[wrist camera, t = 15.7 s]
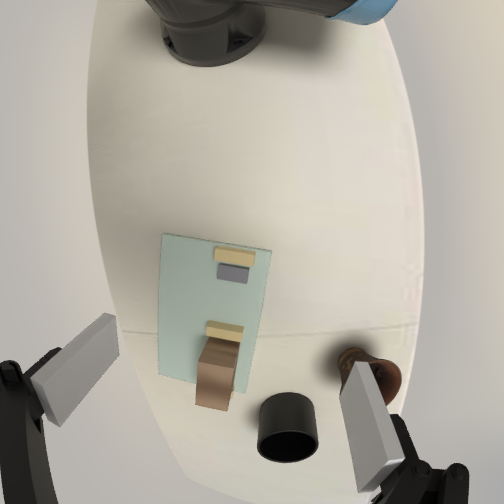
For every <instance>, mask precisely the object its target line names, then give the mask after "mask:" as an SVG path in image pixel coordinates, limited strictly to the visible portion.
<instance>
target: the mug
mask: <svg viewBox="0 0 504 504" xmlns="http://www.w3.org/2000/svg"><path fill="white" fill-rule="evenodd" d="M318 445H319V443H318V434H317V426H316V419H315V411H314V406H313V404H312V402H311V401H310V400H309V399H308V398H306V397H305V396H303V395H300V394H296V393H282V394H278V395H275V396H272V397H271V398H269V399H268V400H266V401H265V403H264V404H263V405H262V407H261V411H260V421H259V431H258V441H257V450H258V452H259V453H260V455H261V456H263V457H264V458H266V459H268V460H270V461H274V462H279V463H292V462H298V461H301V460H304V459H306V458H308V457H310V456H311V455H313V454H314V453H315V452H316V450H317V448H318Z"/></svg>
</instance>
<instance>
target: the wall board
mask: <svg viewBox="0 0 504 504" xmlns="http://www.w3.org/2000/svg"><path fill="white" fill-rule="evenodd" d="M271 253H272V251H271V250H265V249H259V248H253V247H247V246H241V245H234V244H228V243H222V242H216V241H210V240H204V239H198V238H191V237H185V236H179V235H173V234H167V233H164V234H162V243H161V257H160V275H159V299H158V367H159V374H160V375H164V376H167V377H171V378H175V379H179V380H182V381H186V382H191V383H195V384H196V383H197V367H198V360H199V358H200V356H201V353H202V351H203V349H204V347H205V345H206V342H207V340H208V338H209V336H211V337H216V338H221V339H226V340H231V341H237V342H240V348H239V354H238V360H237V367H236V373H235V379H234V384H233V388H232V393H231V397H230V398H232V396H233V392H239V393H245V394H246V390H247V385H248V379H249V374H250V369H251V364H252V359H253V353H254V348H255V343H256V337H257V332H258V327H259V321H260V316H261V310H262V305H263V299H264V293H265V288H266V282H267V276H268V270H269V265H270V259H271Z"/></svg>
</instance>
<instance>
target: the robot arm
mask: <svg viewBox="0 0 504 504" xmlns="http://www.w3.org/2000/svg"><path fill="white" fill-rule="evenodd" d="M146 1H147V3H148V4H149V5H150V6H151V7H152V9H153V10H154V11H155V12H156V13H157V14H158V16H159V17H160V20H161V30H162V38H163V41H164V43H165V45H166V47H167V48H168V49H169V51H170V52H171V53H172V54H173V55H174V56H175V57H176V58H177V59H179V60H180V61H182V62H184V63H186V64H190V65H193V66H201V67H210V66H218V65H223V64H227V63H230V62H233V61H235V60H237V59H239V58H241V57H243V56H245V55H246V54H248V53H249V52H250V51H252V50H253V49H254V48H255V47H256V46H257V45H258V44H259V42H260V41H261V39H262V38H263V36H264V33H265V30H266V15H265V11H264V8H263V6H271V7H278V8H285V9H291V10H296V11H302V12H307V13H311V14H316V15H320V16H324V18H326V19H331V20H333V19H338V20H342V21H346V22H350V23H354V24H358V25H369V24H372V23H375V22H377V21H379V20H381V19H382V18H383V17H384V16H385V15H386V14H387V13H388V12H389V11H390V10H391V8H393V6H394V5H395V4H396V2H397V1H398V0H146ZM262 5H263V6H262ZM118 356H119V347H118V337H117V326H116V316H114V315H111V314H107V313H104V314H102V315H101V316H100V317H99V318H98V319H96V321H94V322H93V323H92V324H91V325H89V326H88V327H87V328H86V329H85V330H83V332H81V333H80V334H79V335H78V336H76V337H75V338H74V339H73V340H72V341H71V342H70V343H68V344H67V345H66V346H65V347H64V348H63V349H62V348H59V347H57V348H55V349H53V350H50V351H49V352H48V353H47V354H46V355H44V357H42V358H41V359H40V360H39V361H38V362H37V363H35V364H34V365H33V366H32V367H31V368H30V369H28V370H27V371H26V372H25V373H24V374H23V373H22V371H21V368H20V365H19V364H18V363H17V362H15V361H12V360H8V361H3V362H1V363H0V470H1V479H2V488H3V495H4V500H5V504H58V501H57V497H56V494H55V490H54V486H53V482H52V477H51V472H50V468H49V462H48V457H47V451H46V444H45V437H44V428H43V420H42V417H41V416H42V414H43V413H44V412H45V414H46V416H47V419H48V420H49V421H50V422H52V423H54V424H55V425H57V426H59V427H61V426H62V424H63V423H64V422H65V421H66V419H67V418H68V417H69V416H70V414H71V413H72V412H73V411H74V409H75V408H76V407H77V406H78V404H79V403H80V402H81V401H82V399H83V398H84V397H85V396H86V395H87V393H88V392H89V391H90V390H91V388H92V387H93V386H94V385H95V384H96V382H97V381H98V380H99V379H100V378H101V376H102V375H103V374H104V373H105V372H106V370H107V369H108V368H109V367H110V366H111V364H112V363H113V362H114V361H115V360H116V358H117V357H118ZM339 399H340V404H341V408H342V413H343V417H344V422H345V427H346V431H347V436H348V441H349V446H350V451H351V456H352V462H353V467H354V473H355V478H356V484H357V490H358V493H361V492H370V491H374V490H375V489H376V488H377V487H378V486H379V485H380V487H381V492H380V493H379V494H378V495H377V496H376V497H375V498H374V499H372V500H371V502H373V503H372V504H468V495H469V471H468V469H467V467H466V466H464V465H463V464H460V463H454V464H452V465H450V466H449V467H448V468H447V469H446V470H442V469H432V468H431V467H430V465H429V464H428V463H426V462H425V461H423V460H420V459H419V457H418V455H417V452H416V450H415V447H414V445H413V442H412V440H411V437H409V436H410V435H409V432H408V430H407V427H406V425H405V422H404V421H403V419H402V418H401V417H400V416H399V415H398V414H389V413H388V410H387V407H386V405H385V402H384V400H383V397H382V395H381V392H380V390H379V387H378V385H377V383H376V380H375V378H374V375H373V373H372V371H371V368H370V366H369V364H368V362H357V361H355V363H354V365H353V368H352V370H351V373H350V375H349V377H348V380H347V382H346V384H345V386H344V389H343V391H342V393H341V395H340V397H339Z"/></svg>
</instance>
